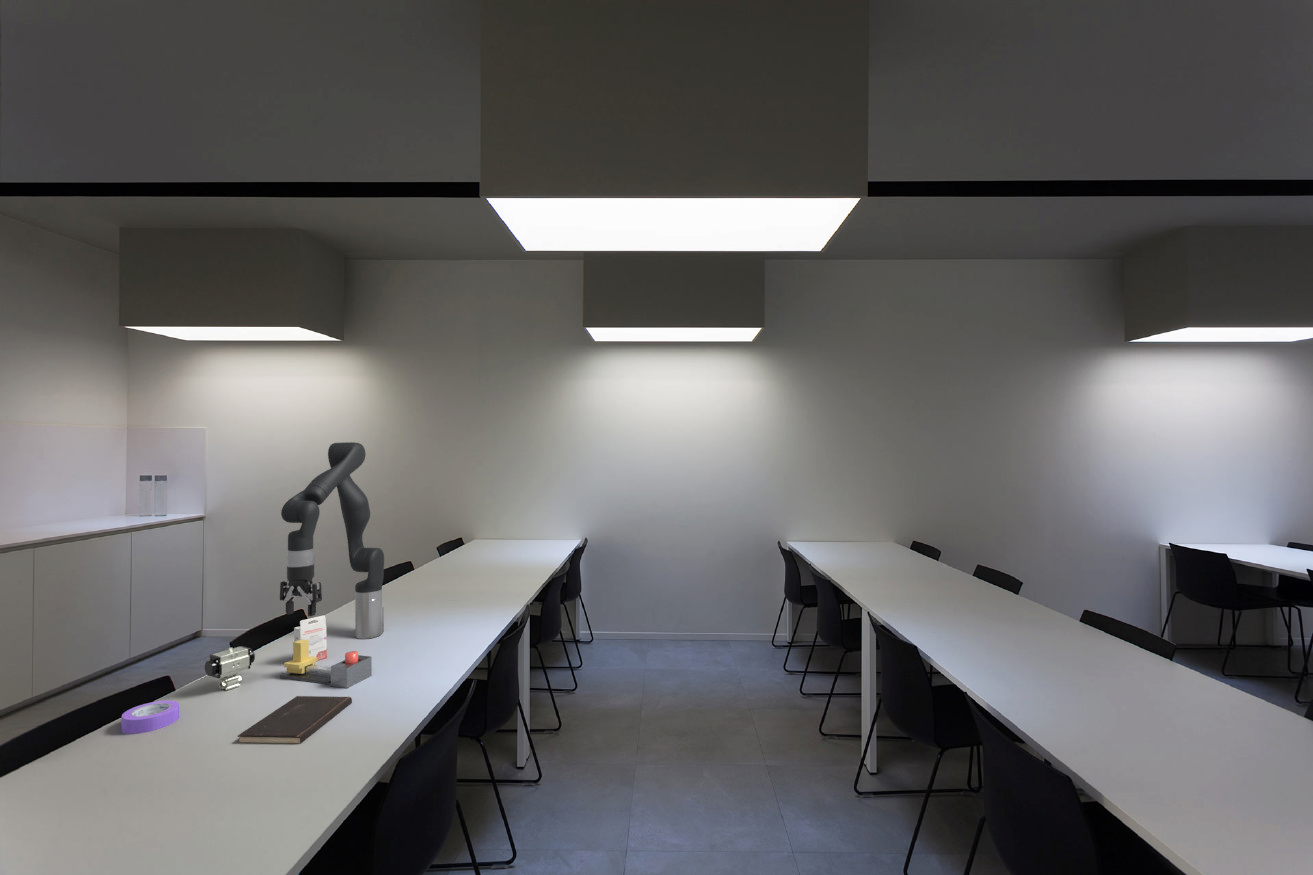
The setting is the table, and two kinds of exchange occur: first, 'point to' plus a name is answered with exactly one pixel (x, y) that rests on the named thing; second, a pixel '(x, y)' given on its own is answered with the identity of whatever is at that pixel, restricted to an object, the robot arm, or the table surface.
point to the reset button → (351, 657)
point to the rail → (311, 674)
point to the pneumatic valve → (229, 666)
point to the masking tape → (150, 717)
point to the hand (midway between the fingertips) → (300, 614)
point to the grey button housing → (351, 672)
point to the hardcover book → (295, 720)
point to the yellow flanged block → (300, 657)
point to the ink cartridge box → (313, 636)
